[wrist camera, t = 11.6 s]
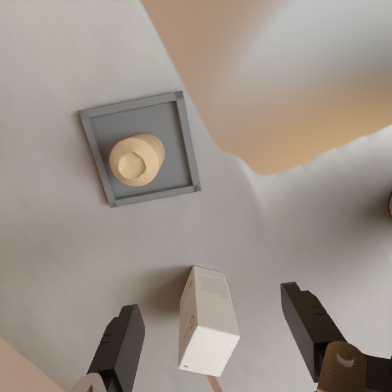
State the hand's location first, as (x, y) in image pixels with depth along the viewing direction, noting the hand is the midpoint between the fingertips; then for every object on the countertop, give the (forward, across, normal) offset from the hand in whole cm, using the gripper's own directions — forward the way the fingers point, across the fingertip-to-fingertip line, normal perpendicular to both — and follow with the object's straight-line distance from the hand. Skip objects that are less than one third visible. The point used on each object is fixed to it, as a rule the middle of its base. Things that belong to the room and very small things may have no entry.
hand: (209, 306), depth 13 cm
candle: (+24, +7, -6) cm, 26 cm away
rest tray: (+25, +7, -6) cm, 27 cm away
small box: (+26, +3, +20) cm, 32 cm away
